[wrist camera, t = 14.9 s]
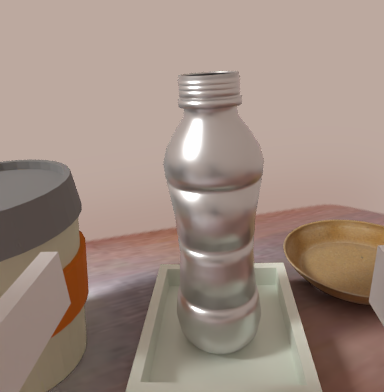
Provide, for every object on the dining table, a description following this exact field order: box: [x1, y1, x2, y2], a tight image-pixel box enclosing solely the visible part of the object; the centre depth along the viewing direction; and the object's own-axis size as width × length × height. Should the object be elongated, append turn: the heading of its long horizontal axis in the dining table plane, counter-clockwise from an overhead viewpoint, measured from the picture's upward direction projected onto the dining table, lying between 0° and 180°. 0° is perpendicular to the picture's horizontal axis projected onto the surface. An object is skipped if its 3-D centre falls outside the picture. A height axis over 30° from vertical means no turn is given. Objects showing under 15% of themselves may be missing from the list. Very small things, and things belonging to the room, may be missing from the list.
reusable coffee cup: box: [0, 160, 88, 392], centre depth 26 cm, size 13×13×15 cm
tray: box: [125, 263, 322, 392], centre depth 28 cm, size 12×14×3 cm
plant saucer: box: [283, 220, 384, 305], centre depth 36 cm, size 15×15×3 cm
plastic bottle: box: [163, 71, 264, 355], centre depth 24 cm, size 6×7×20 cm
